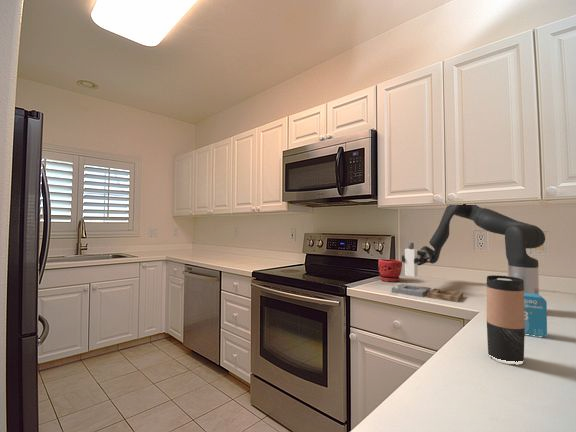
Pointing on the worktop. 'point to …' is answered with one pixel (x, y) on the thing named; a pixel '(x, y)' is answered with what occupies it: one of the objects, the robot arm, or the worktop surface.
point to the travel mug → (505, 317)
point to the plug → (410, 260)
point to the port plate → (411, 290)
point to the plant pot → (389, 269)
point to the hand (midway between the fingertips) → (409, 260)
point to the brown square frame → (445, 295)
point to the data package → (535, 315)
